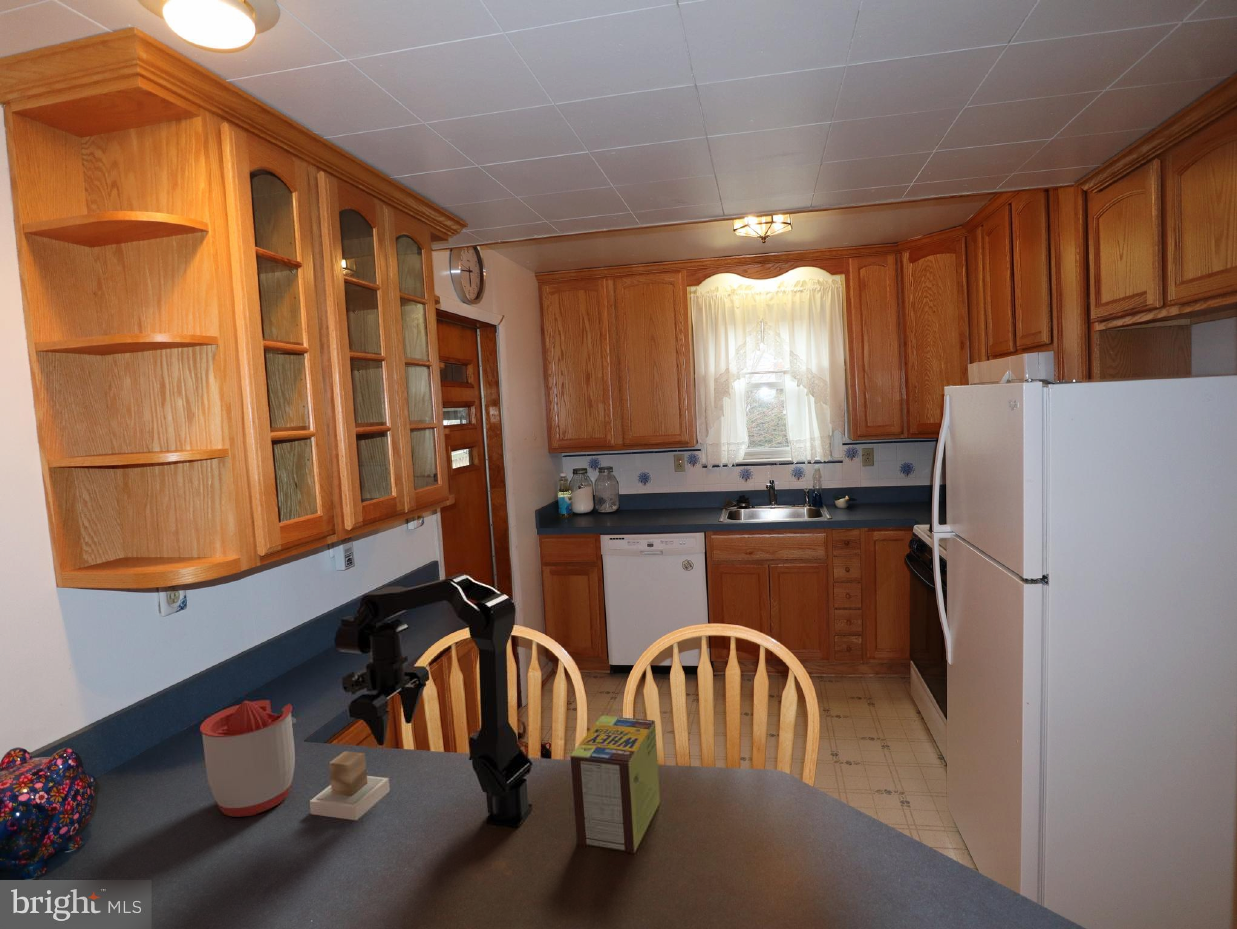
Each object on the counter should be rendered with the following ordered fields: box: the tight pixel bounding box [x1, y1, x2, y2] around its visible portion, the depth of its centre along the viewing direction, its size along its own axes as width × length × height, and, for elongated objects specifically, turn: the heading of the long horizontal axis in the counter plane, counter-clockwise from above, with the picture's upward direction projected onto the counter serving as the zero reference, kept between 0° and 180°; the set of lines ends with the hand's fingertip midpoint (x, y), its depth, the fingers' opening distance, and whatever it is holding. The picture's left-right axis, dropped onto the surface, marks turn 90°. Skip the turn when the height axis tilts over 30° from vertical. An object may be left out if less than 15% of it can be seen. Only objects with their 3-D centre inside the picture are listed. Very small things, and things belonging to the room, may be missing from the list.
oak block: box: [328, 750, 368, 796], centre depth 134 cm, size 4×4×6 cm
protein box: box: [569, 715, 661, 854], centre depth 122 cm, size 10×15×16 cm
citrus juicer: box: [199, 699, 297, 818], centre depth 136 cm, size 16×17×20 cm
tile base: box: [309, 775, 391, 821], centre depth 134 cm, size 10×10×3 cm
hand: (395, 733), depth 136 cm, fingers open, 9 cm apart
